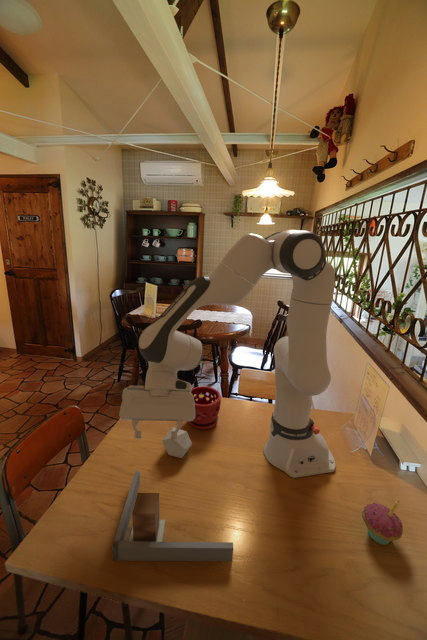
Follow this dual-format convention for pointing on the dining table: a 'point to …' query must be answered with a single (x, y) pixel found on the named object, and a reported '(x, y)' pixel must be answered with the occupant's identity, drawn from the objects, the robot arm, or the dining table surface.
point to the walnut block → (146, 517)
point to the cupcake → (382, 523)
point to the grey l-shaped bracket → (162, 549)
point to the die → (177, 443)
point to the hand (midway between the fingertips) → (155, 438)
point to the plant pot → (206, 407)
